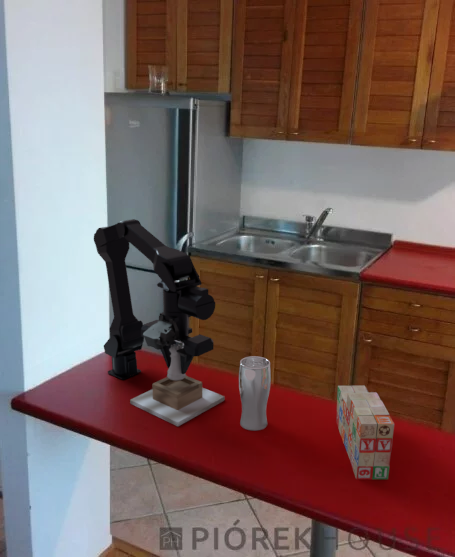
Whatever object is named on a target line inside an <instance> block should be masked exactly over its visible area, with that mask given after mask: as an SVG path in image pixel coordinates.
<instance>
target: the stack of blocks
mask: <svg viewBox="0 0 455 557" xmlns="http://www.w3.org/2000/svg"><path fill="white" fill-rule="evenodd" d="M336 393H337V394H336V399H337V400H336V420H335V423H336V426H337V427H338V431H339V434H340V437H341V439H342V443H343V444H344V447H345V451H346V453H347V455H348V458H349V461H350V464H351V465H350V466H351V468H352V471H353V474H354V477H355V480H389V474H390V462H391V453H392V448H393V440H394V439H393V437H394V432H395V431H394V430H395V422H394V421H393V419H392V416H390V413H389V411H388V409H387V408H386V406H385V404H384V402H383V400H382V399H381V398H380V396H379V394H378V393H377V392H376V391H375V392H374V391H371V392H369V390H368V388H367V387H366V386H365V385H337V392H336Z"/></svg>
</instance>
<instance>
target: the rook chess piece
mask: <svg viewBox="0 0 455 557" xmlns="http://www.w3.org/2000/svg"><path fill="white" fill-rule="evenodd" d="M181 348H182V344H180V343H176V344H173V345H171V348H170V349H169V351H170V352H171V355H170V357H171V365H170V367H169V368H167V371H166V372H167V375H166V377H168V378H169V379H170V380H173V381H179V380H182V379H184V378H185V376H187V374H186V373H185V374H182V372H181V362H180V355H179V354H178V353H177V352H176V351H177V350H179V349H181Z"/></svg>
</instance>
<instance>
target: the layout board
mask: <svg viewBox="0 0 455 557" xmlns="http://www.w3.org/2000/svg"><path fill="white" fill-rule="evenodd" d="M151 386H152V387H151V389H150V390H148V391H146V392H144V393H141V394H139V395H137V396H135V397H133V398H131V399H129V401H130V402H129V403H130V405H132V406H135V407H136V408H139V409H140V410H143V411H144V412H146V413H149V414H150V415H153V416H155V417H157V418H159V419H162V420H164V421H165V422H168V423H169V424H172V425H174V426H175V427H180V426H181V425H183V424H186V423H187V422H190V420H192V419H195V417H198V416H199V415H202V413H204V412H205V413H206V412H207V411H208V410H210V409H211V408H213V407H215V406H217V405H219V404H221V403H222V402H224V401H225V399H226V398H225V395H222V394H220V393H217V392H215V391H212V390H209V389H207V388H204V387H203V381H200V380H198V379H195V378H193V377H191V376H188V375H186V376H185V378H184V379H182V380H179V381H173V380H170V379H169V378H168V377H167V376H166V377H164V378H161V379H160V380H157V381H156V382H153V383H152V385H151Z"/></svg>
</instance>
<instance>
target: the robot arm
mask: <svg viewBox="0 0 455 557" xmlns="http://www.w3.org/2000/svg"><path fill="white" fill-rule="evenodd" d="M93 242H94V245H95V248H96V251H97V252H96V253H97V254H98V255H99V256H100V258H101V259H102V260H103V262H105V266H106V267H105V268H106V273H107V274H106V275H107V281H108V287H109V294H110V300H111V306H112V311H113V319H112V322H111V324H110V327H109V338H108V340H107V341H106V342H105V343H104V345H103V349H104V353H105V355H108V356H110V357H111V369H110V370H108V371H107V374H108V375H110V376H113V377H115V378H117V379H119V380H121V381H122V380H123V381H124V380H127V379H129V378H131V377H133V376H135V375H138V374H140V373H142V370H141V369H139V368H138V359H137V353H136V351H141V350H142V348H143V346H144V344H143V343H144V342H145V343H146V346H147V347H151V348H153V349H156V350H160V352H161V354H162V357H163V359H164V361H165V364H166V368H167V369H169V367H170V365H171V357H170V355H171V352H170V351H169V349H170V348H171V345H173V344H176V345H177V343H178V344H182V345H181V347H182V348H181V349H179V350H177V351H176V352H177V353H178V354H179V355H180V362H181V372H182V374H186V373H187V371H188V370H189V368H190V365H191V363H192V361H193V359H194V357H200V356H202V355H205V354H207V353H209V352H210V351H213V350H214V344H215V343H214V339H212V338H211V337H209V336H206V335H204V334H197V335H194V336H192V337H191V336H189V335H190V334H191V333H193V328H191V327H189V318H190V317H193V318H196V319H198V320H201V321H207V320H209V318H211V317H212V315H213V314H214V312H215V309H216V302H215V299H214V297H213V296H212V295H210V294H209V289H208V288H206V287H200V286H202V283H203V282H202V280H201V279H200V274H199V273H198V272H197V269H196V268H195V267H196V266H195V265H194V263H193V260H192V258H191V257H190V256H189V255H188V254H186V253H185V252H183V251H182V250H179V249H176V248H172V247H168V246H167V245H166V244H165V243H163V242H162V241H161V240H160V239H158V238H157V237H156V236H155V235H154V234H152V233H151V232H150V231H149V230H148V229H146V227H144V226H143V225H142V224H141V222H140V220H138V219H135V218H134V219H133V218H132V219H127V220H121V221H119V222H117V223H115V224H113V225H109V226H102V227H98V228H97V229H96V231H95V233H94V234H93ZM130 244H131V245H132V246H133V247H134V248H135V249H137V251H139V252H140V253H141V254H142V256H144V257H145V258H147V259H148V260H149V261H150V262H151V263H152V266H153V271H154V272H155V274H156V275H157V276H158V278H160V280H159V282H157V284H156V286H157V287H159V288H160V289H162V297H163V298H162V302H163V303H162V304H163V305H162V306H163V309H162V310H163V311H162V312H159V315H158V319H155V320H153V321H150V322H147V323H144V324H143V321H142V320H139V319H138V318H137V317H136V316H135V314H134V310H133V303H132V298H131V297H132V296H131V291H130V283H129V278H128V271H127V264H126V259H127V256H128V254H129V250H130ZM188 278H189V279H188ZM180 280H181V281H180Z"/></svg>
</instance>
